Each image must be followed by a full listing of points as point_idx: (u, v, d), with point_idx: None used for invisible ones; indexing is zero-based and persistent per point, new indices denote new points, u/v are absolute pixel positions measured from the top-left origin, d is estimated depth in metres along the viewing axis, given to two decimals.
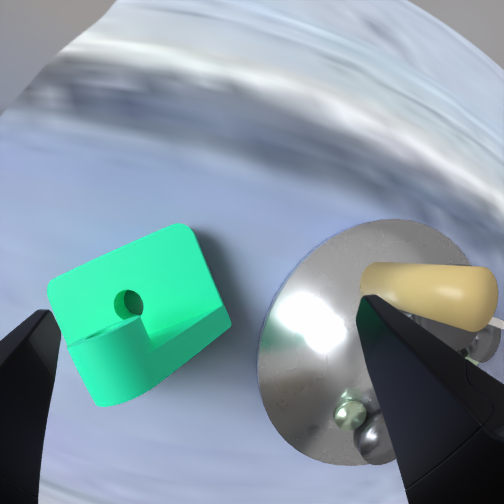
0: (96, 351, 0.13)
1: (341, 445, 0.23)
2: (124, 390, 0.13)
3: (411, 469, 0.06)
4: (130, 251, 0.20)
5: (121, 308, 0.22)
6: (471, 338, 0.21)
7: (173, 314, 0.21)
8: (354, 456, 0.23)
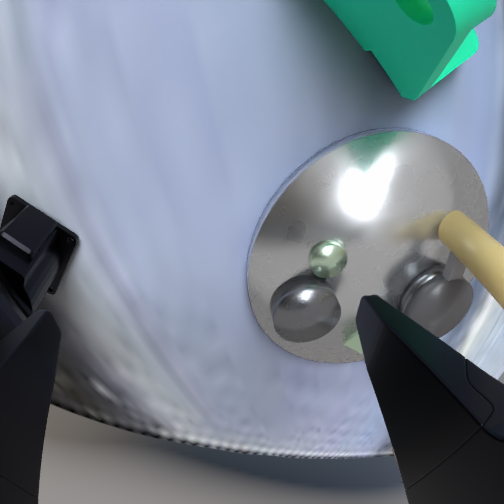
0: None
1: (279, 270, 0.22)
2: (460, 8, 0.07)
3: (411, 469, 0.06)
4: None
5: None
6: None
7: None
8: (263, 293, 0.23)
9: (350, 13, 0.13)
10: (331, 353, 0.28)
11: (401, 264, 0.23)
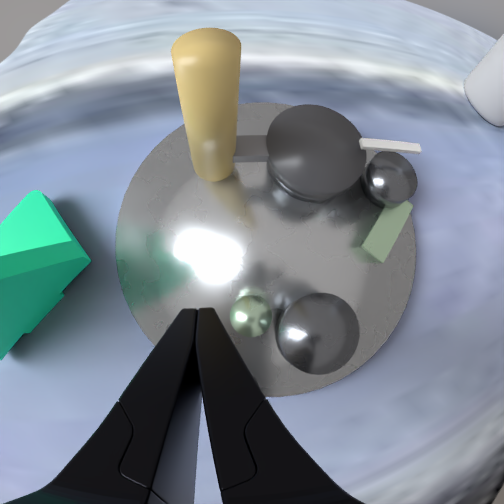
0: None
1: (267, 365, 0.20)
2: None
3: None
4: (3, 228, 0.19)
5: None
6: (358, 170, 0.20)
7: None
8: (298, 378, 0.20)
9: (30, 316, 0.18)
10: (399, 274, 0.22)
11: (264, 216, 0.22)
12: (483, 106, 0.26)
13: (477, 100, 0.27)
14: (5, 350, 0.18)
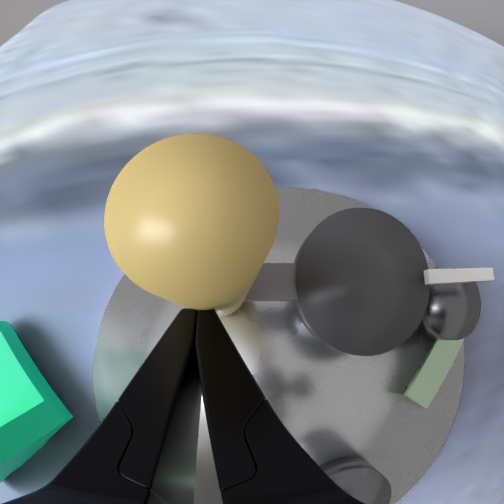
0: None
1: None
2: None
3: None
4: None
5: None
6: (417, 317, 0.14)
7: (11, 419, 0.12)
8: None
9: (16, 465, 0.12)
10: (440, 415, 0.15)
11: (287, 371, 0.15)
12: None
13: None
14: None
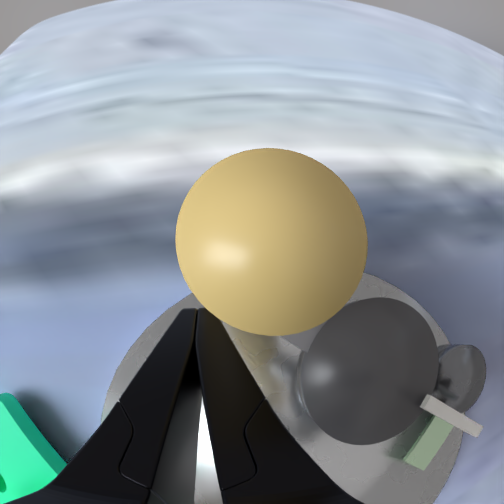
0: None
1: None
2: None
3: None
4: None
5: None
6: (394, 431, 0.12)
7: (27, 486, 0.11)
8: None
9: None
10: (437, 473, 0.14)
11: None
12: None
13: None
14: None
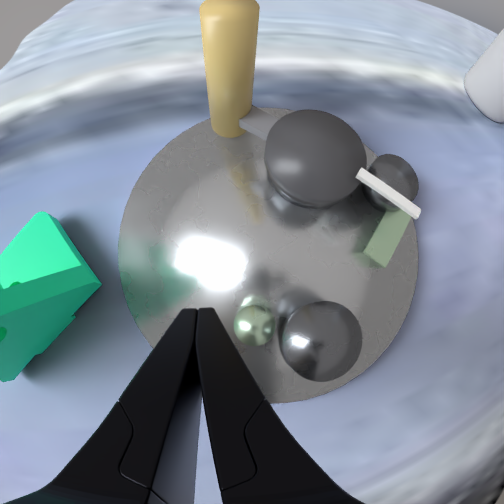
0: None
1: (272, 372, 0.20)
2: None
3: None
4: (10, 249, 0.19)
5: None
6: (338, 192, 0.20)
7: None
8: (303, 385, 0.20)
9: (42, 339, 0.19)
10: (401, 278, 0.22)
11: (265, 224, 0.22)
12: (484, 102, 0.26)
13: (478, 97, 0.26)
14: (17, 371, 0.18)
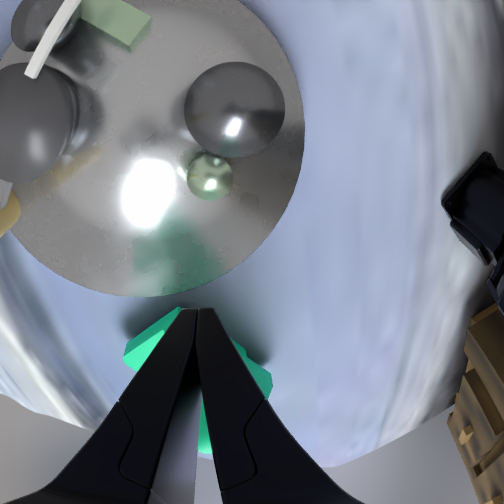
0: (205, 450, 0.20)
1: (266, 157, 0.18)
2: None
3: None
4: None
5: None
6: (55, 97, 0.12)
7: None
8: (286, 124, 0.17)
9: None
10: None
11: (100, 161, 0.17)
12: None
13: None
14: (262, 372, 0.28)
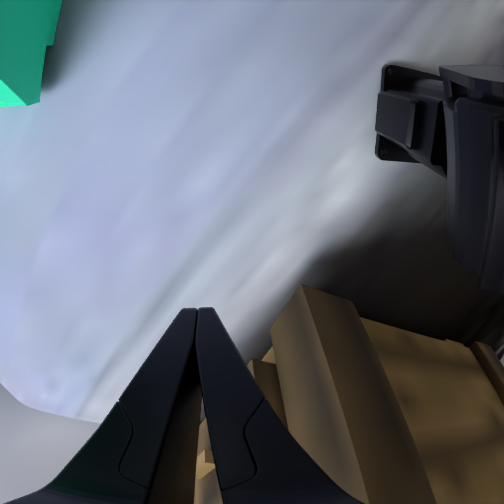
0: None
1: None
2: None
3: None
4: None
5: None
6: None
7: None
8: None
9: (44, 13, 0.11)
10: None
11: None
12: None
13: None
14: (36, 80, 0.13)
